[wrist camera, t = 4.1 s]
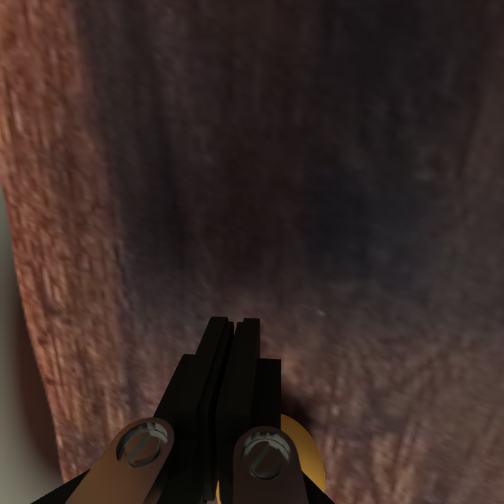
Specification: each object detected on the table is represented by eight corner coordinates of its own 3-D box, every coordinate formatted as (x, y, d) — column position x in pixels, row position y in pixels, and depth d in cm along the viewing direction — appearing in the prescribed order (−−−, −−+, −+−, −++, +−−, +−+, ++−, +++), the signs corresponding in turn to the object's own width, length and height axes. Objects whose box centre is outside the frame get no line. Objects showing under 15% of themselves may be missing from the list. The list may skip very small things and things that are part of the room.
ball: (225, 384, 18) (196, 485, 12) (323, 393, 17) (337, 505, 12) (228, 454, 19) (204, 567, 14) (317, 465, 19) (326, 588, 14)
